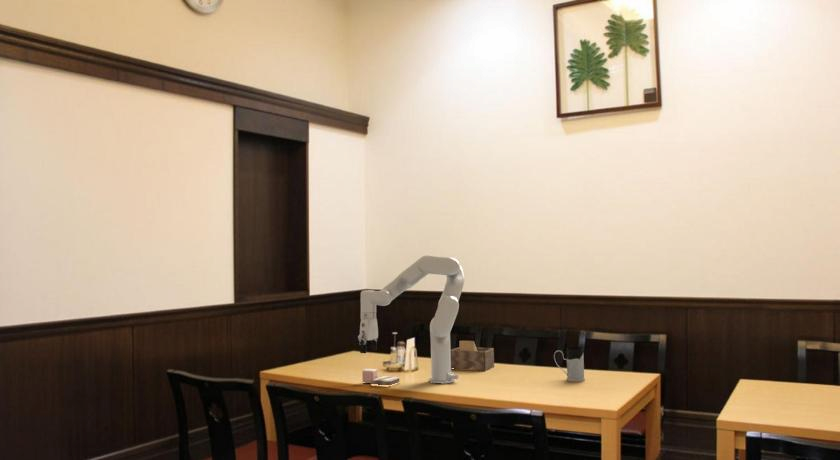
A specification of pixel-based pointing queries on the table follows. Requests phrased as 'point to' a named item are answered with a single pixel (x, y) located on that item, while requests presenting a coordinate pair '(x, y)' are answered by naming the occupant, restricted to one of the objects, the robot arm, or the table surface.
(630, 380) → the table surface
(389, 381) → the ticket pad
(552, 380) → the table surface
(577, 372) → the glass holder
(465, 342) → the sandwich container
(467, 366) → the brown storage basket
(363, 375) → the pink block
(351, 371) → the table surface
